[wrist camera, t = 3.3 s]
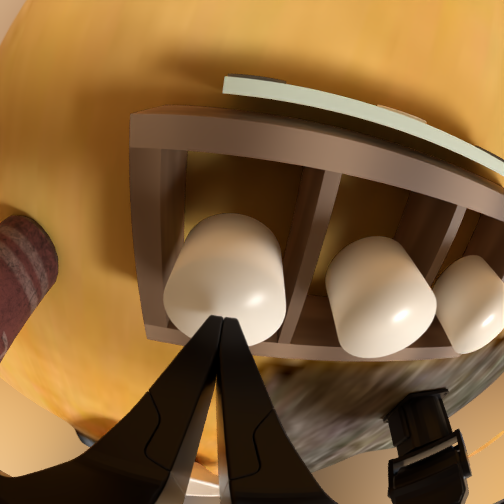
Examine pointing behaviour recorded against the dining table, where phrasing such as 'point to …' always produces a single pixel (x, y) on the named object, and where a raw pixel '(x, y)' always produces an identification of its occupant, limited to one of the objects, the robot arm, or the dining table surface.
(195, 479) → the bowl
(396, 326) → the button mid
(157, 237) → the brown compartment tray
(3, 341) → the can
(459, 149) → the card
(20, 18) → the dining table surface
